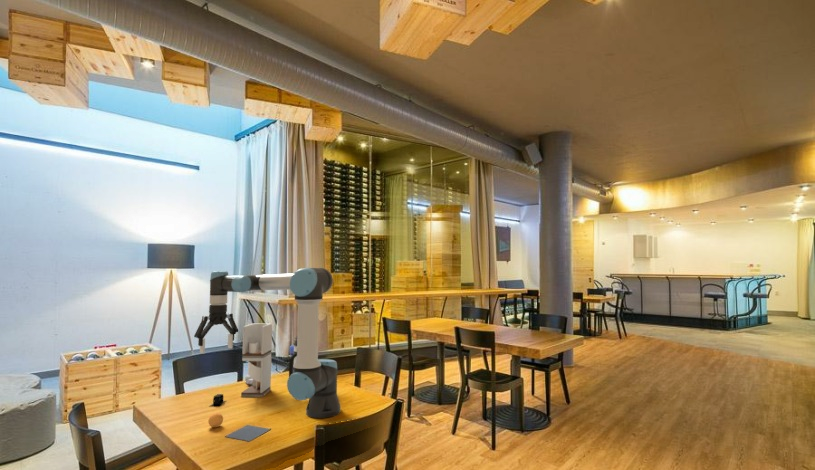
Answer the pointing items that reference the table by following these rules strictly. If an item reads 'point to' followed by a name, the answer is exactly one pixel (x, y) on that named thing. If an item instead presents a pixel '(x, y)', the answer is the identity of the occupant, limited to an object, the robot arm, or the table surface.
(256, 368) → the wooden cubby shelf
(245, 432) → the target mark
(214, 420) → the ball
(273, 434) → the table surface
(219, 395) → the black recessed block
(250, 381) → the charger
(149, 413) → the table surface
